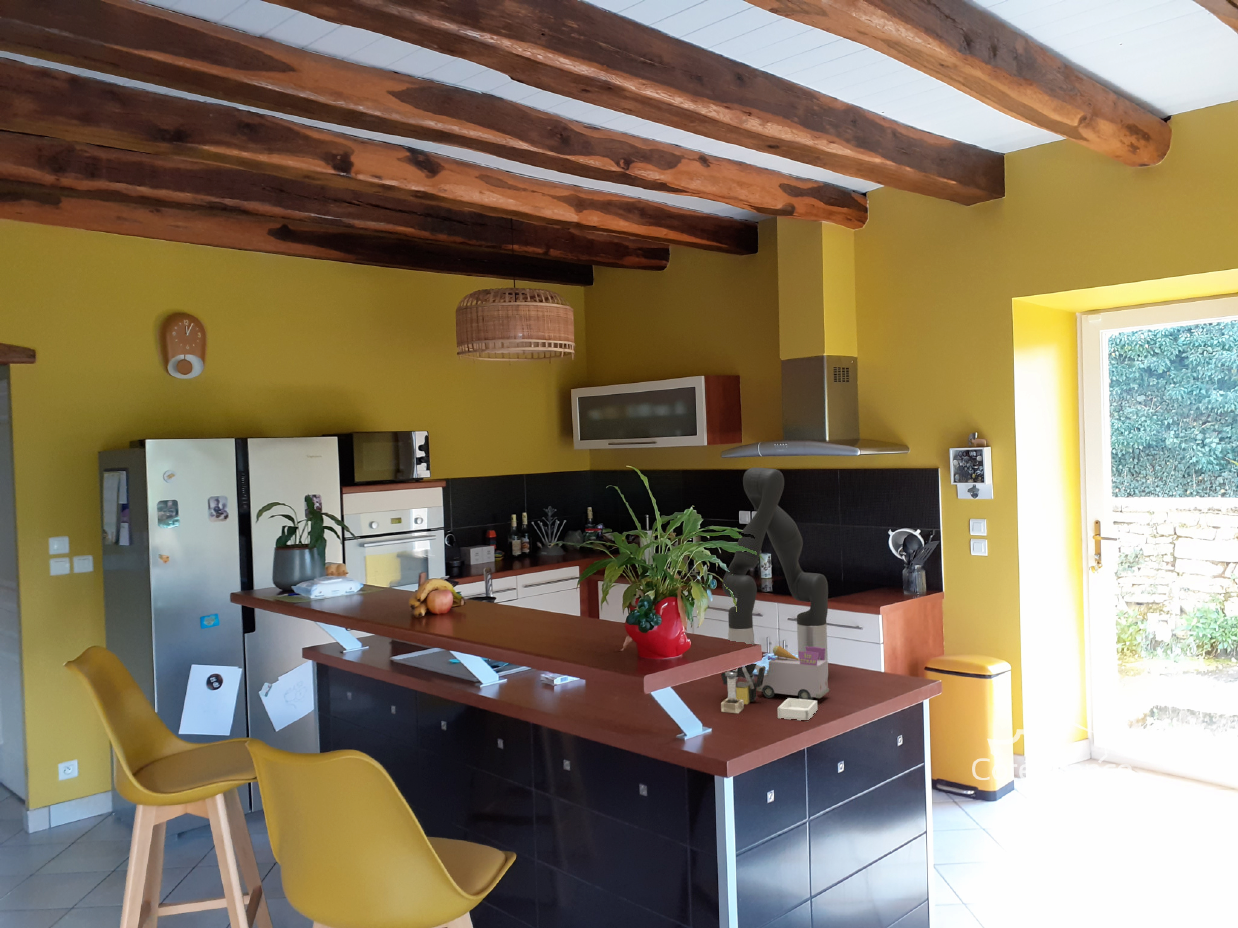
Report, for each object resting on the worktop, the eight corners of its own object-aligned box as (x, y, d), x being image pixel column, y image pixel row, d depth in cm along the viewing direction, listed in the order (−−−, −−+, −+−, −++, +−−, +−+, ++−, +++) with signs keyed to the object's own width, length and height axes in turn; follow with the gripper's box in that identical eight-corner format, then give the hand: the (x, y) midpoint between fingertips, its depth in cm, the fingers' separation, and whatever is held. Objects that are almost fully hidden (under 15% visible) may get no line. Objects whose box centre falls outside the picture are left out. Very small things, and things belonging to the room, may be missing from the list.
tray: (788, 707, 264) (787, 697, 264) (817, 710, 260) (817, 700, 260) (777, 718, 254) (777, 707, 254) (808, 721, 251) (807, 710, 251)
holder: (727, 706, 267) (726, 698, 267) (743, 708, 265) (743, 699, 265) (721, 711, 262) (721, 702, 262) (738, 713, 260) (737, 704, 260)
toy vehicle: (767, 690, 283) (766, 641, 283) (830, 696, 273) (828, 646, 273) (756, 697, 275) (754, 647, 275) (819, 705, 265) (818, 653, 265)
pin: (729, 707, 266) (727, 670, 266) (740, 708, 264) (739, 671, 264) (724, 711, 263) (723, 673, 262) (736, 712, 261) (735, 674, 261)
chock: (739, 698, 275) (739, 681, 275) (752, 699, 273) (751, 682, 273) (734, 703, 271) (733, 685, 271) (747, 704, 269) (746, 686, 269)
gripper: (768, 641, 272) (770, 698, 272) (722, 638, 278) (724, 694, 279) (761, 646, 265) (763, 705, 266) (713, 643, 271) (715, 701, 272)
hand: (743, 699), depth 272 cm, fingers open, 5 cm apart
